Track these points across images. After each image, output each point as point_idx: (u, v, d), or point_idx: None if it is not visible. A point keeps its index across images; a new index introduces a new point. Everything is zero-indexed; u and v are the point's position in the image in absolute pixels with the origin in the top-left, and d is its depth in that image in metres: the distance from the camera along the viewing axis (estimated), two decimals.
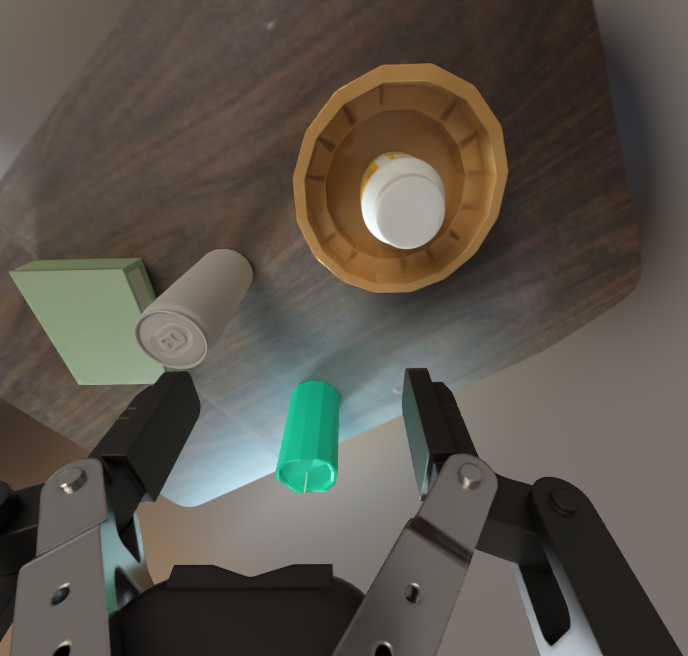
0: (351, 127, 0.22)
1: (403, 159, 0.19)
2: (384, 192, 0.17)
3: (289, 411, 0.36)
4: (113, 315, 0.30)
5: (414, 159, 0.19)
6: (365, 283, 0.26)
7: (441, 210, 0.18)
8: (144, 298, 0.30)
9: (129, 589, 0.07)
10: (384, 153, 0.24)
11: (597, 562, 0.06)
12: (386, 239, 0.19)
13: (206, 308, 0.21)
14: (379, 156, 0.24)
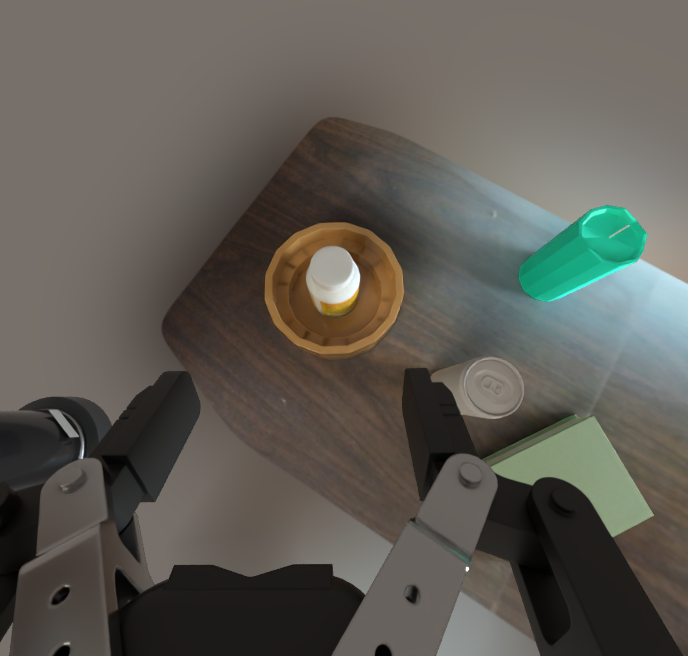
0: (310, 332, 0.35)
1: (309, 288, 0.31)
2: (326, 285, 0.28)
3: (563, 291, 0.34)
4: (534, 478, 0.31)
5: (307, 282, 0.31)
6: (398, 279, 0.33)
7: (322, 250, 0.29)
8: (506, 455, 0.33)
9: (129, 589, 0.07)
10: (317, 309, 0.36)
11: (597, 562, 0.06)
12: (351, 272, 0.28)
13: (457, 372, 0.26)
14: (319, 311, 0.36)
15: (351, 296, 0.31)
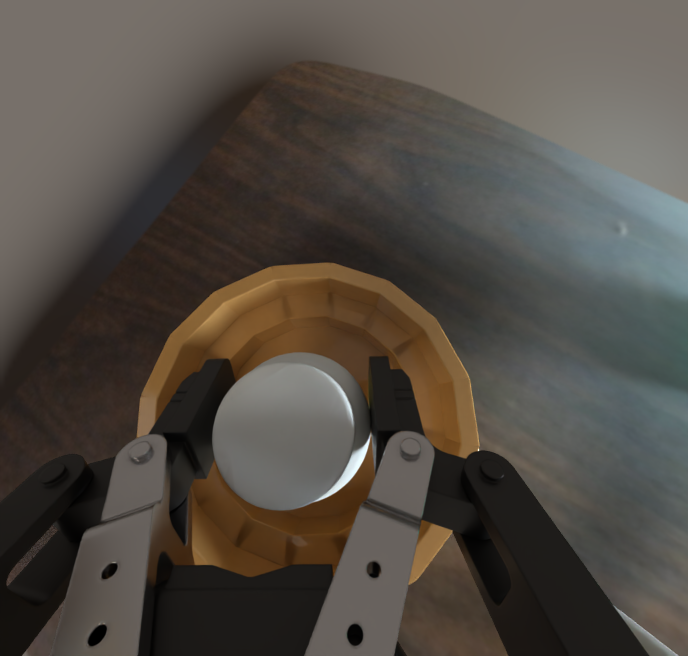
0: (256, 523, 0.15)
1: None
2: (263, 507, 0.08)
3: None
4: None
5: None
6: (462, 402, 0.14)
7: (252, 378, 0.09)
8: None
9: (171, 572, 0.07)
10: None
11: (524, 520, 0.07)
12: (347, 454, 0.09)
13: None
14: None
15: None
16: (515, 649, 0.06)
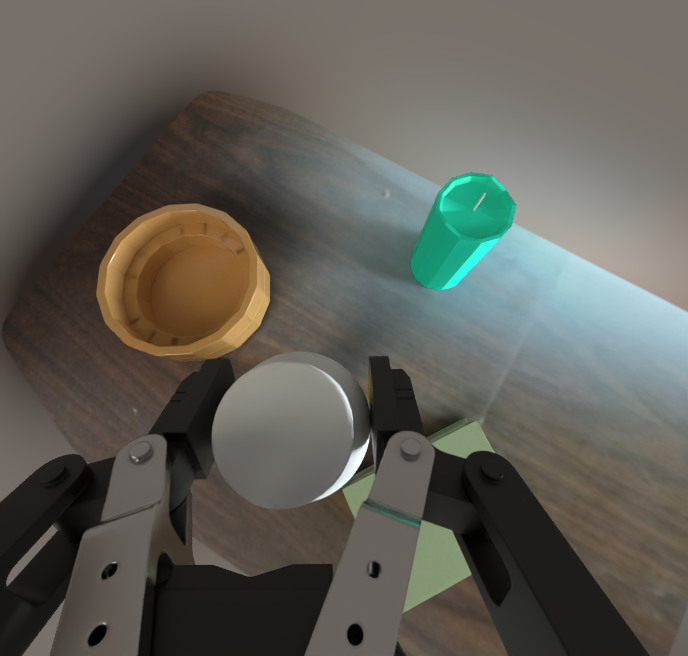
0: (158, 331, 0.30)
1: None
2: (262, 506, 0.08)
3: (447, 277, 0.30)
4: None
5: None
6: (252, 267, 0.29)
7: (251, 377, 0.09)
8: None
9: (171, 572, 0.07)
10: None
11: (524, 520, 0.07)
12: (346, 453, 0.09)
13: None
14: None
15: None
16: (515, 649, 0.06)
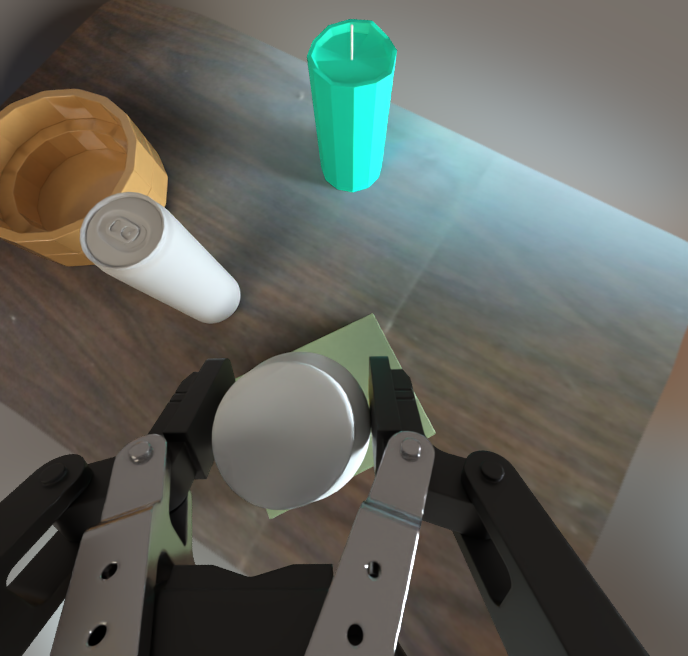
0: (33, 227, 0.27)
1: None
2: (262, 506, 0.08)
3: (349, 165, 0.27)
4: None
5: None
6: (130, 151, 0.26)
7: (251, 378, 0.09)
8: None
9: None
10: None
11: (524, 520, 0.07)
12: (347, 453, 0.09)
13: None
14: None
15: None
16: (515, 649, 0.06)
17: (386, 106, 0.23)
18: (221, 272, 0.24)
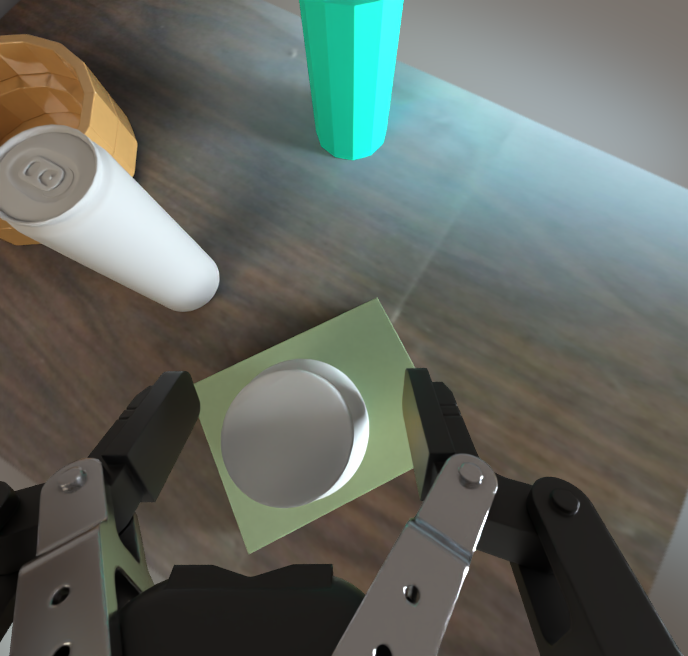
0: None
1: None
2: (268, 504, 0.09)
3: (348, 124, 0.23)
4: None
5: None
6: (86, 104, 0.22)
7: (257, 385, 0.10)
8: None
9: (129, 589, 0.07)
10: None
11: (597, 562, 0.06)
12: (346, 456, 0.09)
13: None
14: None
15: None
16: None
17: (394, 41, 0.19)
18: (192, 246, 0.20)
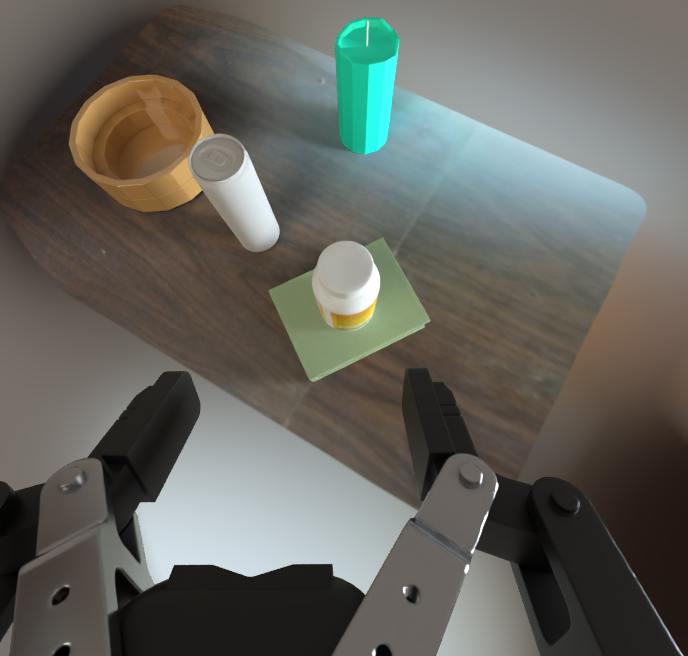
0: (121, 180, 0.36)
1: (316, 296, 0.24)
2: (339, 292, 0.22)
3: (363, 130, 0.35)
4: None
5: (313, 289, 0.24)
6: (197, 119, 0.35)
7: (331, 247, 0.22)
8: None
9: (129, 589, 0.07)
10: (325, 321, 0.30)
11: (597, 562, 0.06)
12: (371, 273, 0.22)
13: None
14: (329, 323, 0.29)
15: (370, 304, 0.24)
16: None
17: (391, 81, 0.31)
18: (269, 206, 0.32)
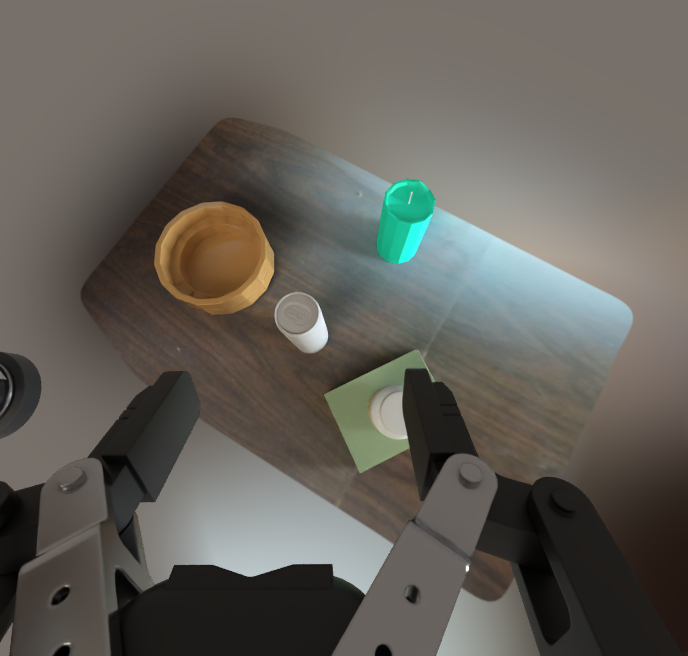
0: (196, 291, 0.43)
1: (375, 425, 0.31)
2: (398, 434, 0.29)
3: (399, 252, 0.42)
4: (366, 397, 0.39)
5: (372, 419, 0.31)
6: (262, 245, 0.41)
7: (391, 396, 0.29)
8: None
9: (129, 589, 0.07)
10: None
11: (597, 562, 0.06)
12: None
13: None
14: None
15: None
16: None
17: (426, 225, 0.38)
18: None
